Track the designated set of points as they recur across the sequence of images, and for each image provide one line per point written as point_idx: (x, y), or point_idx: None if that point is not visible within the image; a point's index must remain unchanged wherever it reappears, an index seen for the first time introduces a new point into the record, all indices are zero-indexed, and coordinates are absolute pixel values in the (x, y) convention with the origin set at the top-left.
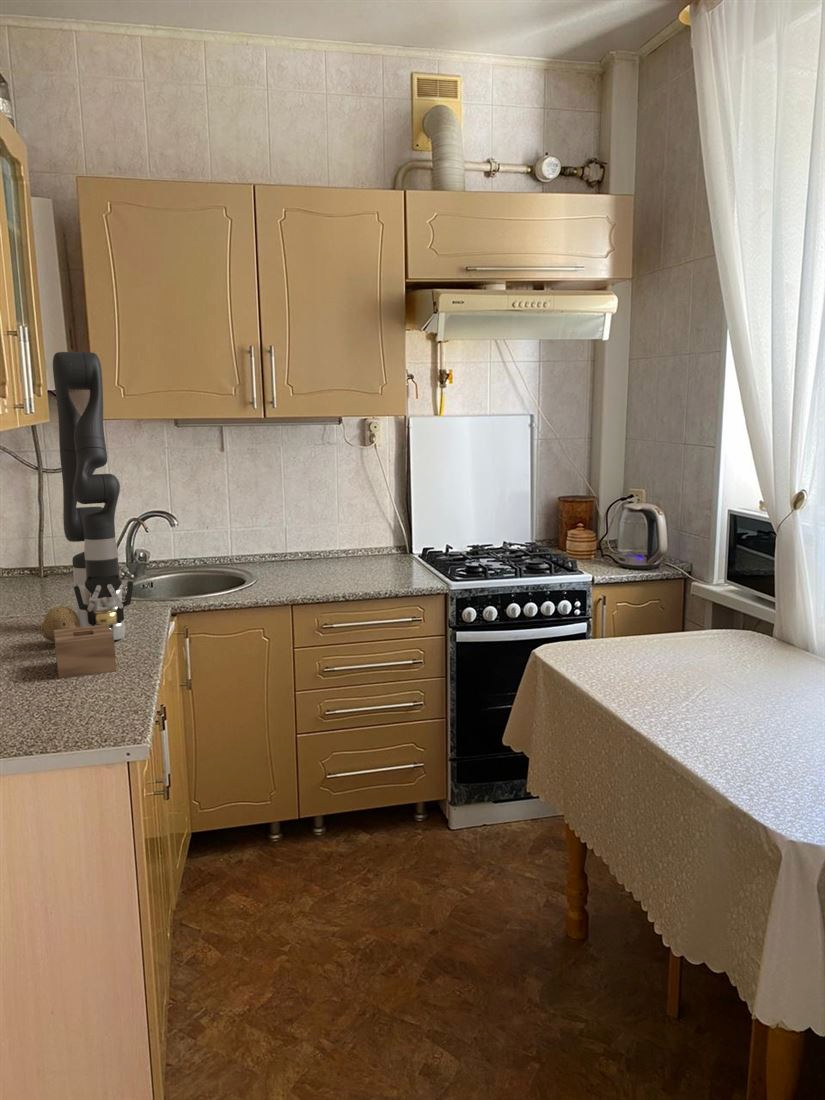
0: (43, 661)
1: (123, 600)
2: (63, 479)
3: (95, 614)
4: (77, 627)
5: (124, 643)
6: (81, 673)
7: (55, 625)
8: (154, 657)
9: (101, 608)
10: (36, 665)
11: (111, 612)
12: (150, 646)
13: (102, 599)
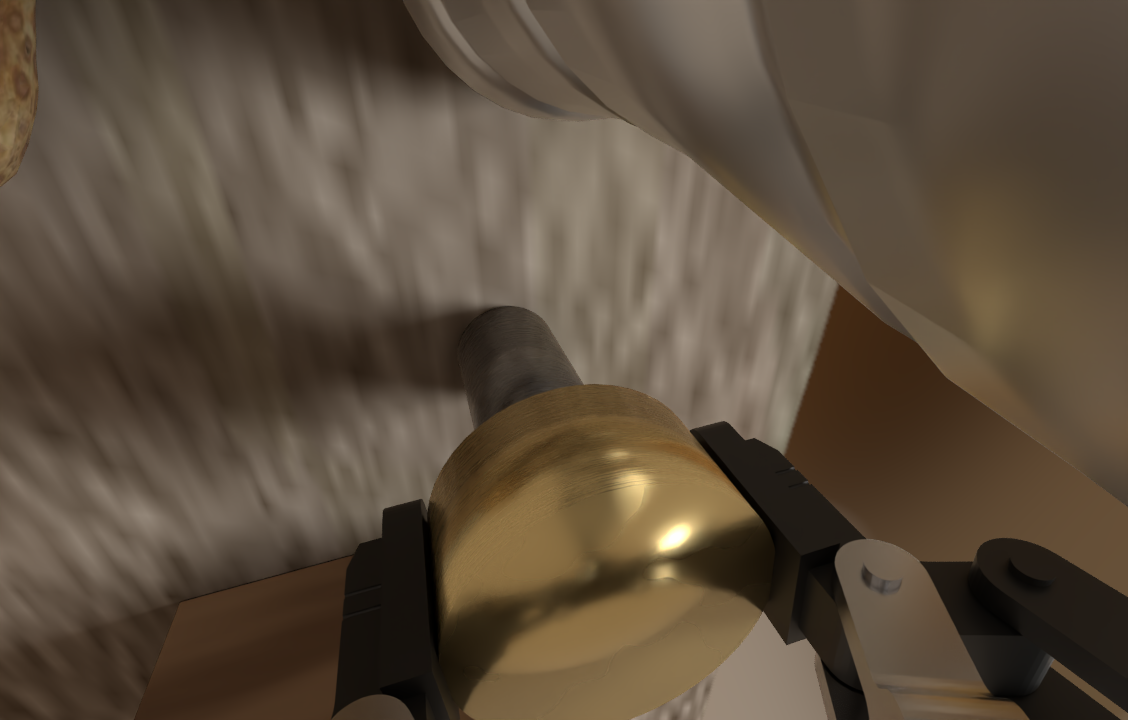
0: (22, 552)
1: (985, 636)
2: None
3: (481, 713)
4: (20, 18)
5: (632, 157)
6: None
7: None
8: None
9: None
10: (19, 630)
11: (688, 663)
12: (788, 317)
13: (646, 116)
